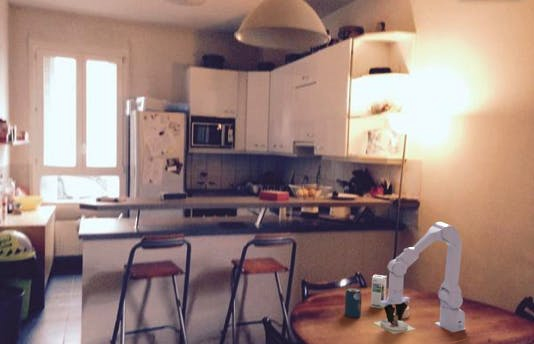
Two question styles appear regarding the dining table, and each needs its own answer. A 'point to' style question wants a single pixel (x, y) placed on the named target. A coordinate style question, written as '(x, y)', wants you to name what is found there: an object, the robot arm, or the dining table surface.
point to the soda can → (353, 302)
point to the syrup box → (378, 290)
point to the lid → (394, 324)
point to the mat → (394, 331)
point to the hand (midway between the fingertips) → (394, 321)
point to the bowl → (406, 312)
